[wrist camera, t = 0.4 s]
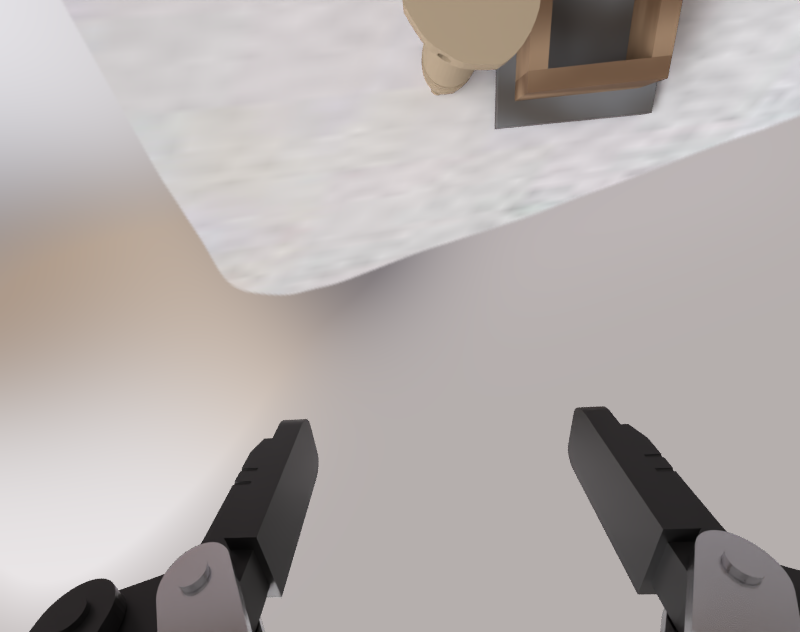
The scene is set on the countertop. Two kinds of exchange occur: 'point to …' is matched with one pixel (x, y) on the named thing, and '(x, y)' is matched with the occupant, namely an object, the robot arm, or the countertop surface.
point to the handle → (468, 36)
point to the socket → (588, 62)
